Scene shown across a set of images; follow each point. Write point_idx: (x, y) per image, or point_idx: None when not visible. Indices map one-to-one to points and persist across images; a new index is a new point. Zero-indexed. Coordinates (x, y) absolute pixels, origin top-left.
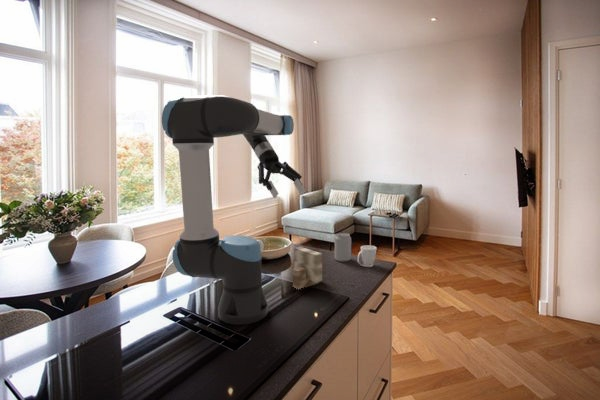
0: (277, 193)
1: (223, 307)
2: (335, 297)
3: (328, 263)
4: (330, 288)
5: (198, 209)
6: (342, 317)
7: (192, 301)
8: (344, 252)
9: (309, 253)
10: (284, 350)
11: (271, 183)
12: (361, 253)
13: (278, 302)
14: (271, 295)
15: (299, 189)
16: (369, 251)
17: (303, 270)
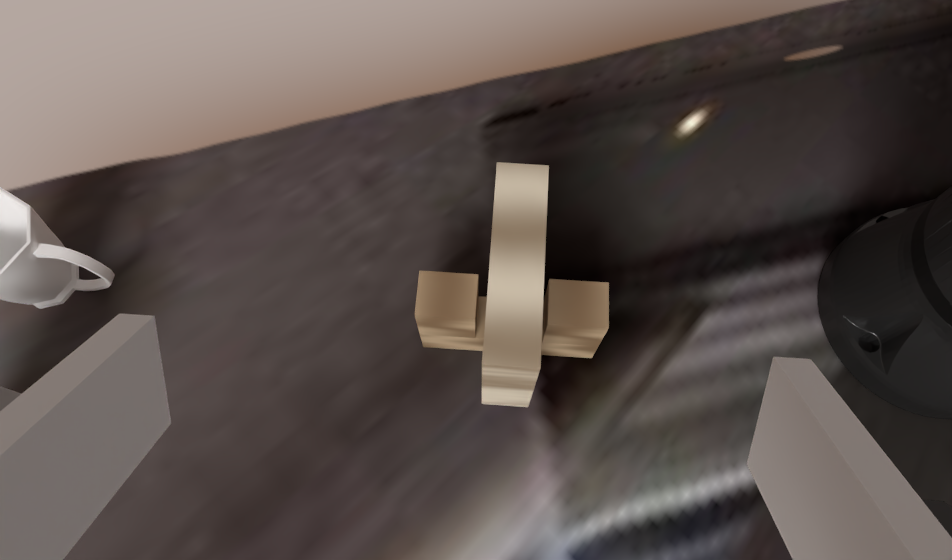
0: (797, 359)
1: None
2: (526, 158)
3: (151, 477)
4: (467, 227)
5: None
6: (635, 53)
7: None
8: None
9: (546, 220)
10: (910, 52)
11: (941, 542)
12: (27, 283)
13: (747, 286)
14: (731, 364)
15: (111, 449)
16: (33, 211)
17: (567, 281)
